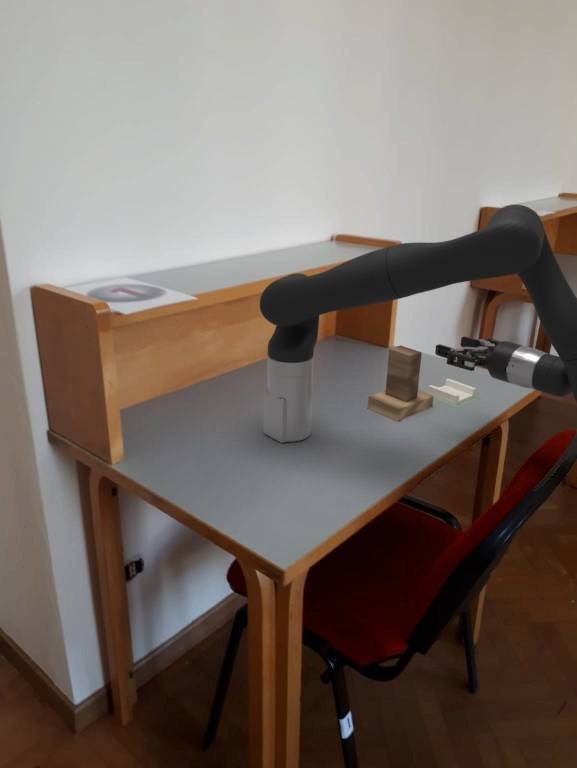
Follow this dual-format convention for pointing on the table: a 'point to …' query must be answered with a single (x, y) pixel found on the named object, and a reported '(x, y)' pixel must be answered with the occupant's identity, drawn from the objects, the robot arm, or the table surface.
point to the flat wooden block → (399, 405)
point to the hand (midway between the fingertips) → (449, 345)
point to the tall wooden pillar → (403, 373)
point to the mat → (460, 403)
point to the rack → (452, 392)
